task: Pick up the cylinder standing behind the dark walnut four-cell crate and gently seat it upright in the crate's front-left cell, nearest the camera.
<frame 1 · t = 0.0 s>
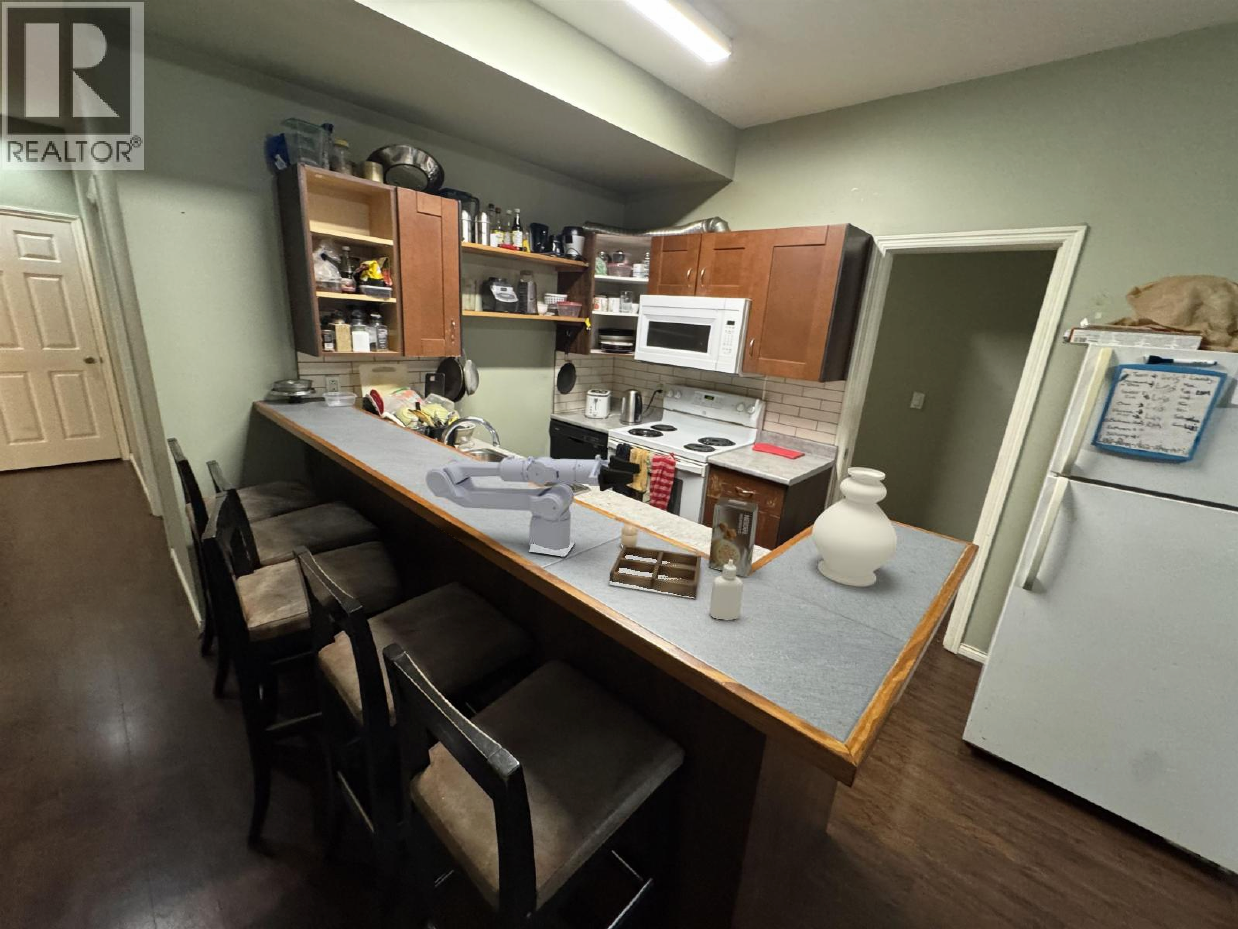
hand: (636, 473, 109), 22 cm above the table, tool horizontal, fingers open, 7 cm apart
cylinder: (628, 547, 122), on the table
decorative vase: (846, 573, 115), on the table
eye dropper bottle: (723, 616, 95), on the table
coffee box: (729, 568, 115), on the table
crate: (656, 576, 109), on the table
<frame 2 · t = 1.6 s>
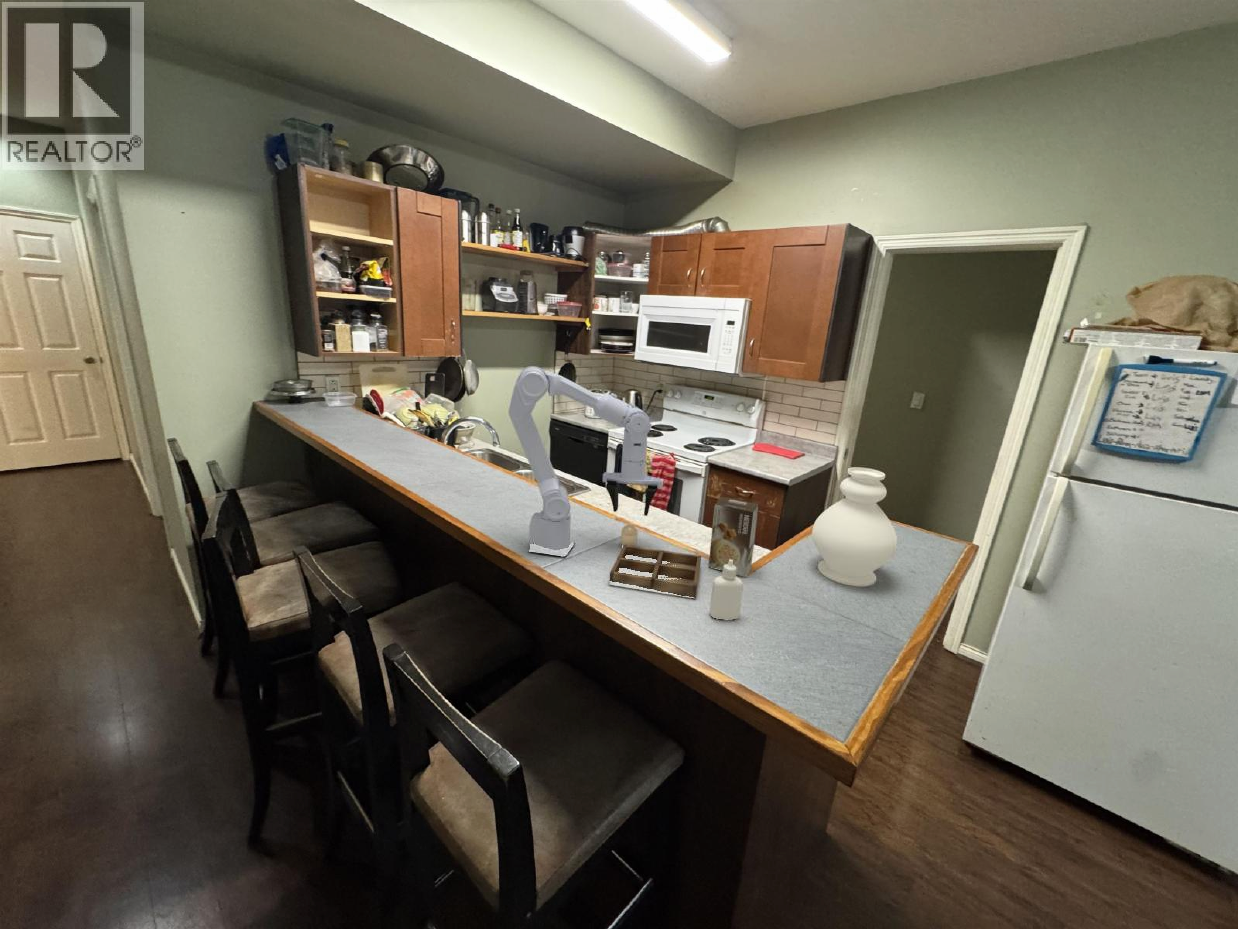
hand: (630, 512, 120), 9 cm above the table, tool pointing down, fingers open, 7 cm apart
nothing on the table moved.
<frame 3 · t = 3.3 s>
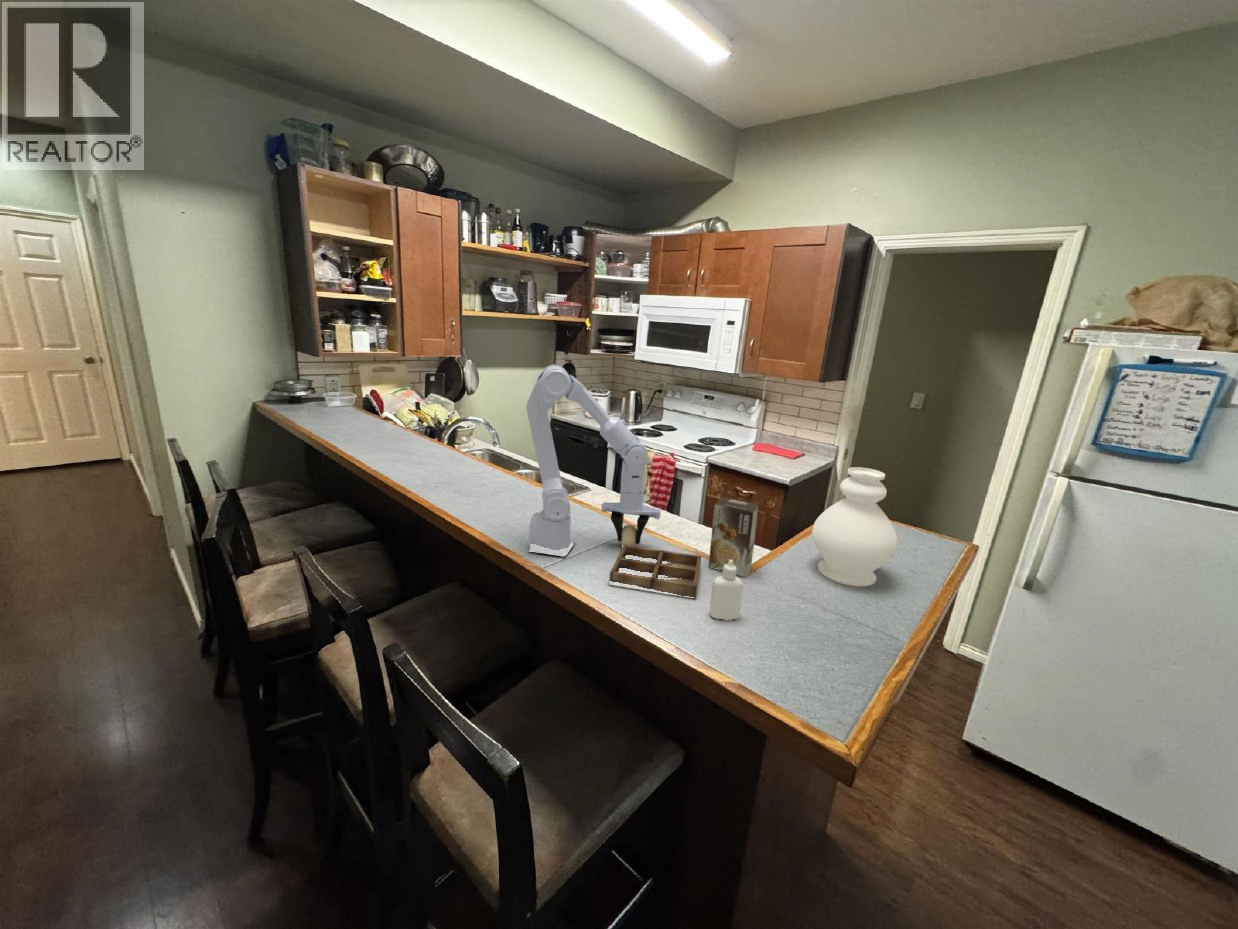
hand: (629, 541, 122), 2 cm above the table, tool pointing down, fingers closed on cylinder, 4 cm apart
cylinder: (628, 547, 122), on the table, touching gripper
everything else where it was.
when the fingers open (4 cm above the table, at t = 8.0 s): cylinder drops 2 cm, resting on crate.
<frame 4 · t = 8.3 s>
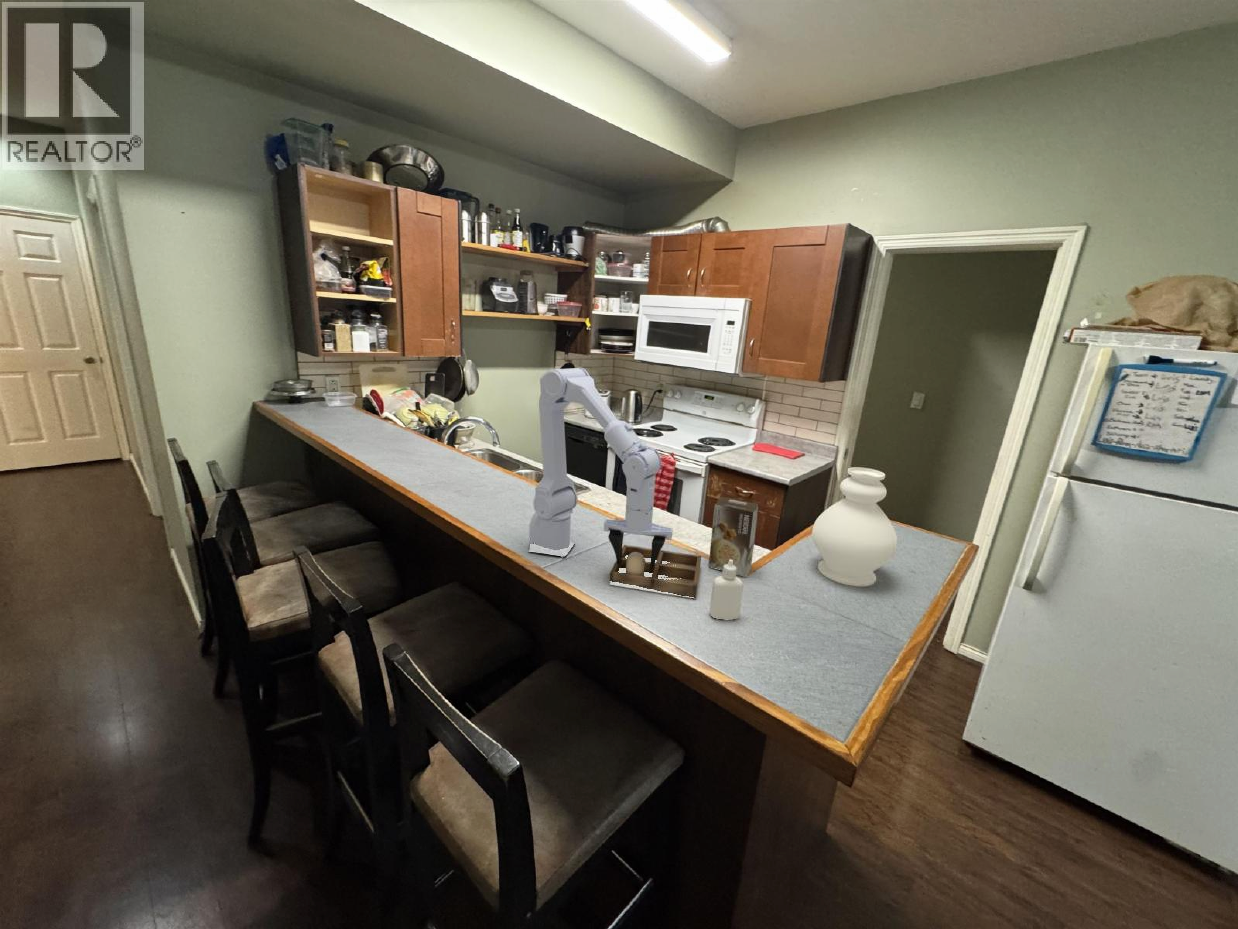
hand: (635, 564, 106), 4 cm above the table, tool pointing down, fingers open, 7 cm apart
cylinder: (634, 577, 106), point 1 cm above the table, touching crate
everything else where it was.
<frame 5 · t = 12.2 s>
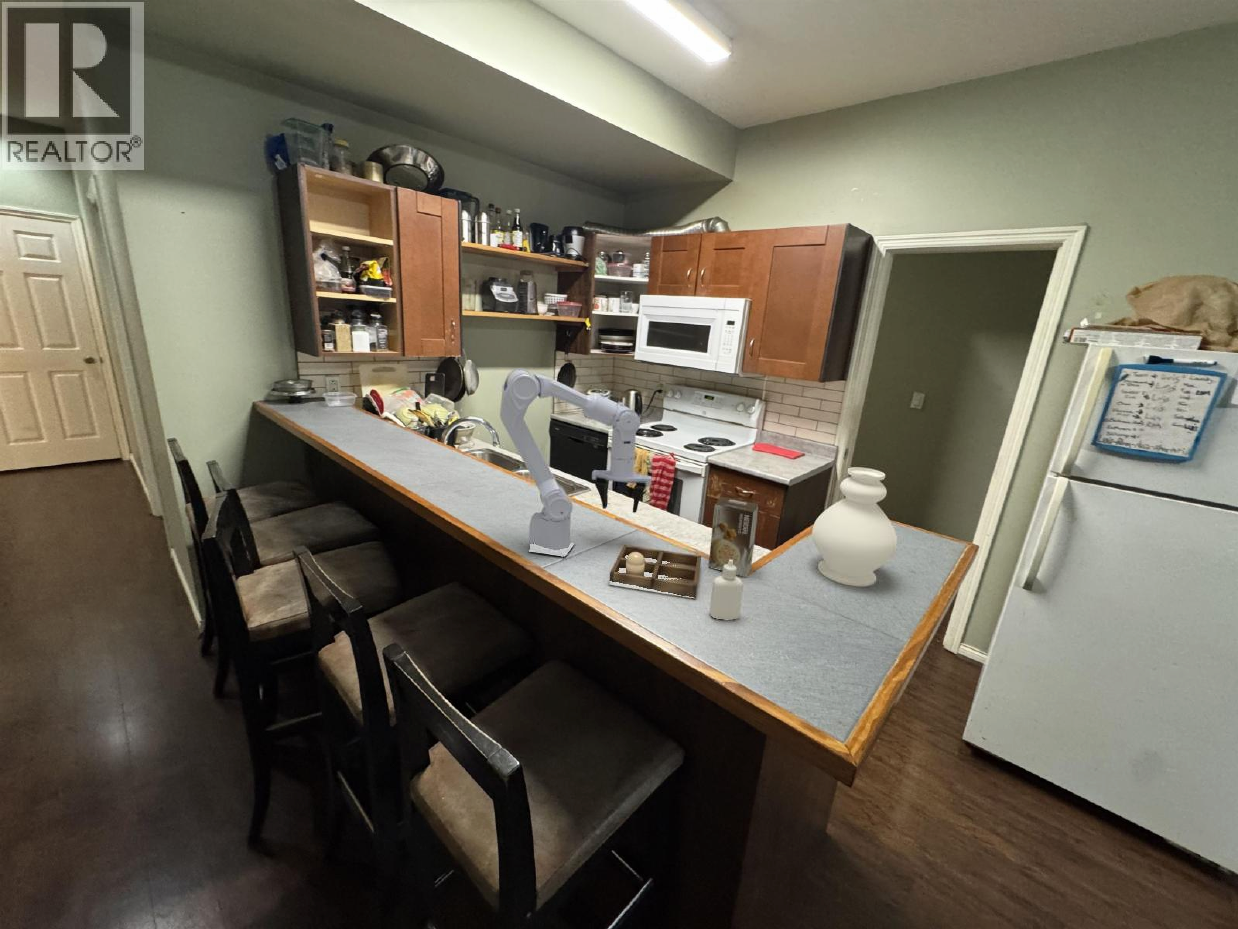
hand: (619, 509, 121), 9 cm above the table, tool pointing down, fingers open, 7 cm apart
nothing on the table moved.
at the end: cylinder 0.1 cm from the target spot on the crate, point 0.6 cm above the crate's base; cylinder tilted 0°; the gripper is holding nothing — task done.
